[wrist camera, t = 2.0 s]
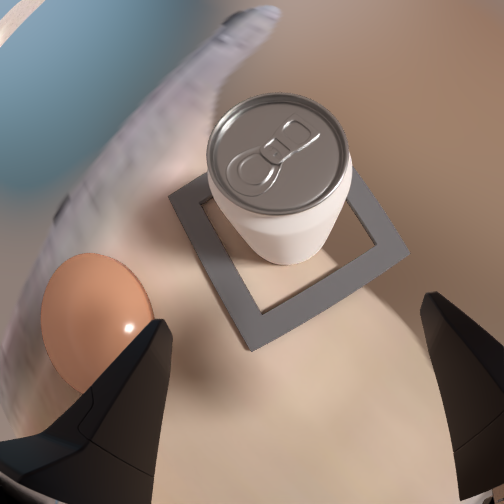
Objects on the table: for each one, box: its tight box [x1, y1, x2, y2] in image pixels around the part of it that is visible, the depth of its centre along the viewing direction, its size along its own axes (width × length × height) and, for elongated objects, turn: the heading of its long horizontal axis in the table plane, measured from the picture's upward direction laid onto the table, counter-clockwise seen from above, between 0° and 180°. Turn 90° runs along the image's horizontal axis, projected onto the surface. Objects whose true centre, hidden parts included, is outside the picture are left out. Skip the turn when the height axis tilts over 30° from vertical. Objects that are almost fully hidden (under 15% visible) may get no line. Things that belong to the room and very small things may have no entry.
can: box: [206, 93, 352, 265], centre depth 17 cm, size 6×6×12 cm
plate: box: [41, 253, 154, 394], centre depth 23 cm, size 13×13×1 cm
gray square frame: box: [168, 166, 410, 352], centre depth 22 cm, size 14×14×1 cm
